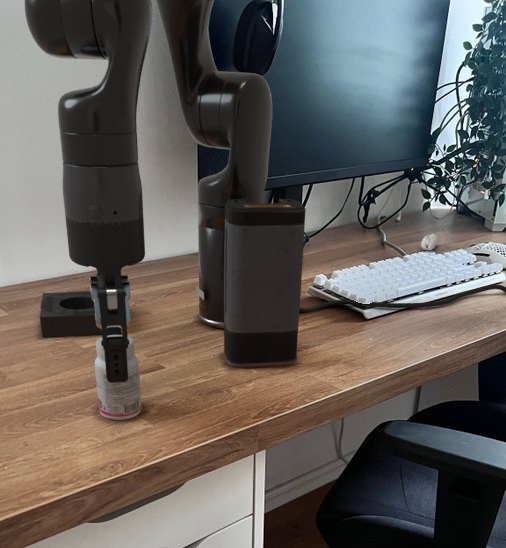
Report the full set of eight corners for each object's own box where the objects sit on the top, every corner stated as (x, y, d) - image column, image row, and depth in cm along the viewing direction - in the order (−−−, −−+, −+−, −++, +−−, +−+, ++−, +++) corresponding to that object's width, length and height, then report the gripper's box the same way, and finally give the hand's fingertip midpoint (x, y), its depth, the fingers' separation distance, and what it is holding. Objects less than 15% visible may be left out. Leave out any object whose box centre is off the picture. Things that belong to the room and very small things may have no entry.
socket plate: (118, 308, 108) (116, 289, 107) (122, 333, 99) (121, 313, 97) (44, 311, 106) (42, 292, 105) (41, 337, 97) (38, 317, 95)
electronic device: (288, 349, 95) (297, 198, 85) (298, 366, 90) (309, 207, 80) (222, 352, 94) (223, 198, 84) (228, 369, 89) (230, 208, 79)
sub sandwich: (439, 245, 150) (441, 232, 149) (432, 253, 144) (434, 240, 143) (424, 243, 151) (426, 230, 150) (417, 251, 145) (419, 238, 144)
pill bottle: (101, 402, 80) (94, 333, 75) (142, 401, 80) (138, 332, 76) (96, 421, 76) (89, 349, 71) (140, 420, 76) (136, 349, 72)
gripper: (149, 226, 62) (156, 390, 70) (137, 198, 74) (144, 340, 82) (63, 227, 60) (80, 395, 69) (65, 198, 73) (80, 343, 81)
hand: (115, 365), depth 75 cm, fingers open, 8 cm apart
